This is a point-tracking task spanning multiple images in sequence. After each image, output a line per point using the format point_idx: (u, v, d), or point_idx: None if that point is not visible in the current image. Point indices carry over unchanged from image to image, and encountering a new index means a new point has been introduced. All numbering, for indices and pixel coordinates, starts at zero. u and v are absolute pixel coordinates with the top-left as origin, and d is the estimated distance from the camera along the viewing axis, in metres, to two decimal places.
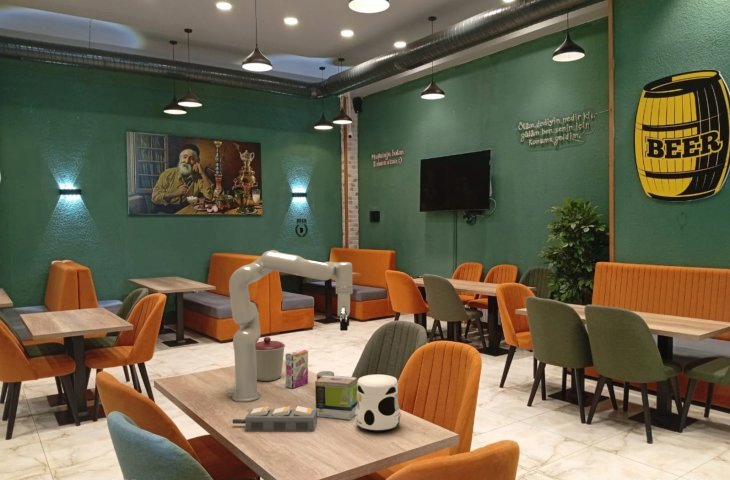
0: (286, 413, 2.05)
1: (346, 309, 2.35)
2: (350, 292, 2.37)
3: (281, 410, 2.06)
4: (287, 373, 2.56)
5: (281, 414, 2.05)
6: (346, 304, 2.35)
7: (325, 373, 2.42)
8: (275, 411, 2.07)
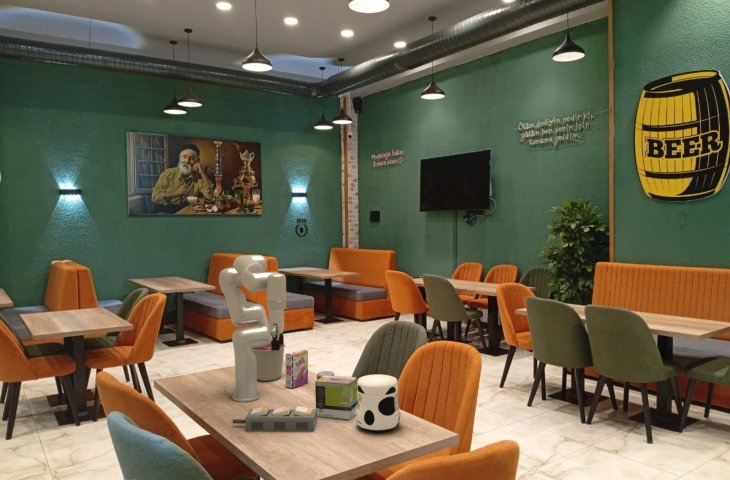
0: (286, 413, 2.05)
1: (278, 326, 2.10)
2: (283, 307, 2.13)
3: (281, 410, 2.06)
4: (287, 373, 2.56)
5: (281, 414, 2.05)
6: (278, 321, 2.10)
7: (325, 373, 2.42)
8: (275, 411, 2.07)
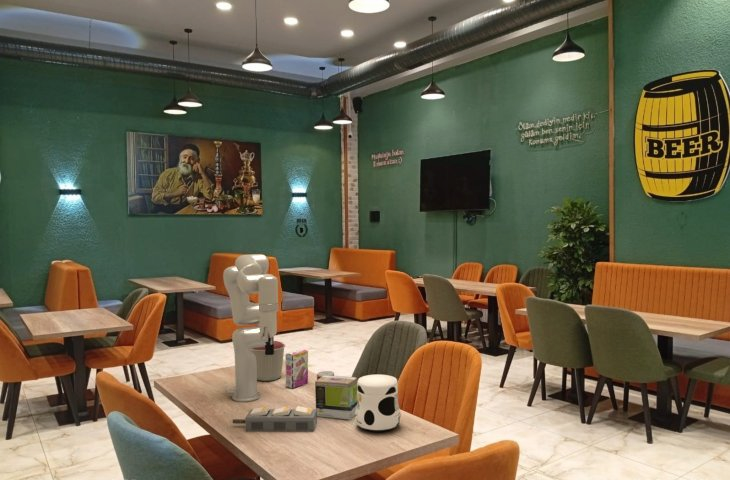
0: (286, 413, 2.05)
1: (269, 336, 2.06)
2: (274, 310, 2.08)
3: (281, 410, 2.06)
4: (287, 373, 2.56)
5: (281, 414, 2.05)
6: (269, 324, 2.05)
7: (325, 373, 2.42)
8: (275, 411, 2.07)
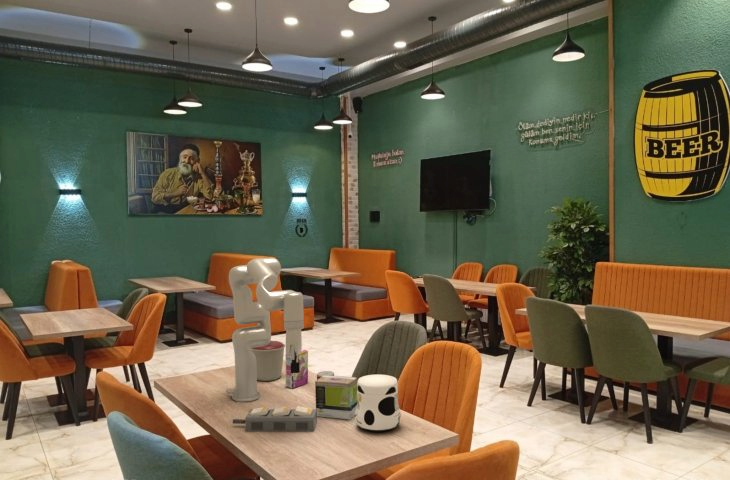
0: (286, 413, 2.05)
1: (296, 353, 2.02)
2: (300, 327, 2.04)
3: (281, 410, 2.06)
4: (287, 373, 2.56)
5: (281, 414, 2.05)
6: (295, 342, 2.01)
7: (325, 373, 2.42)
8: (275, 411, 2.07)
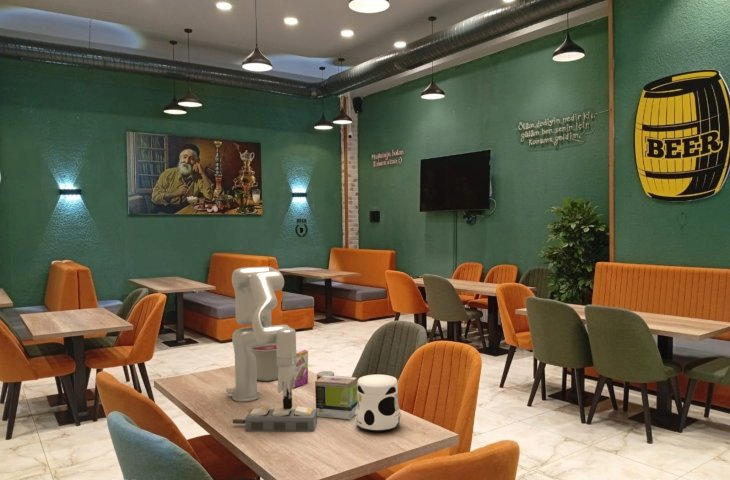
0: (286, 413, 2.05)
1: (288, 390, 2.02)
2: (293, 364, 2.04)
3: (281, 410, 2.06)
4: None
5: (281, 414, 2.05)
6: (287, 379, 2.02)
7: (325, 373, 2.42)
8: (275, 411, 2.07)
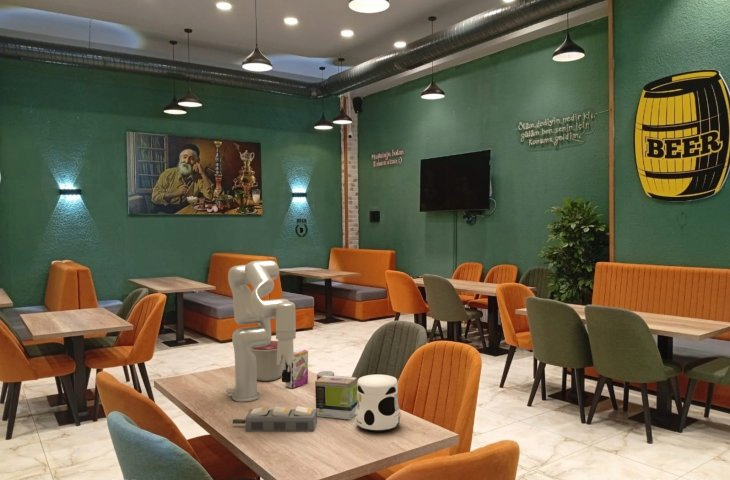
0: (286, 415, 2.05)
1: (287, 364, 2.02)
2: (292, 337, 2.04)
3: (282, 410, 2.06)
4: None
5: (281, 414, 2.05)
6: (287, 352, 2.02)
7: (325, 373, 2.42)
8: (275, 409, 2.07)
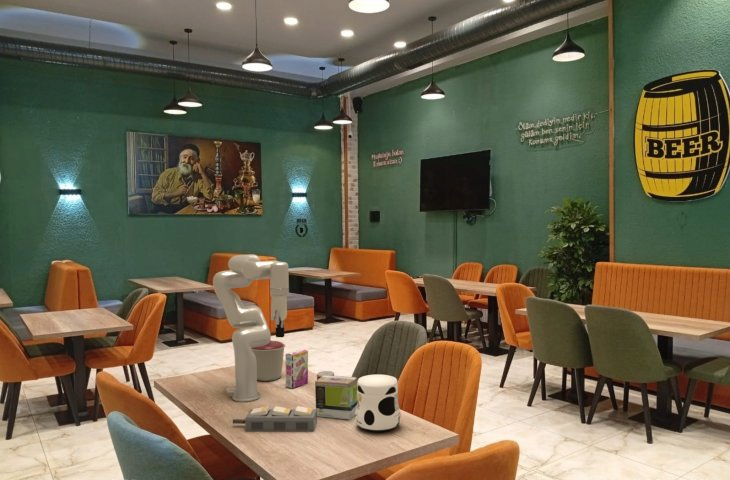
0: (286, 415, 2.05)
1: (280, 319, 2.16)
2: (285, 295, 2.18)
3: (282, 410, 2.06)
4: (287, 373, 2.56)
5: (281, 414, 2.05)
6: (280, 308, 2.16)
7: (325, 373, 2.42)
8: (276, 409, 2.07)
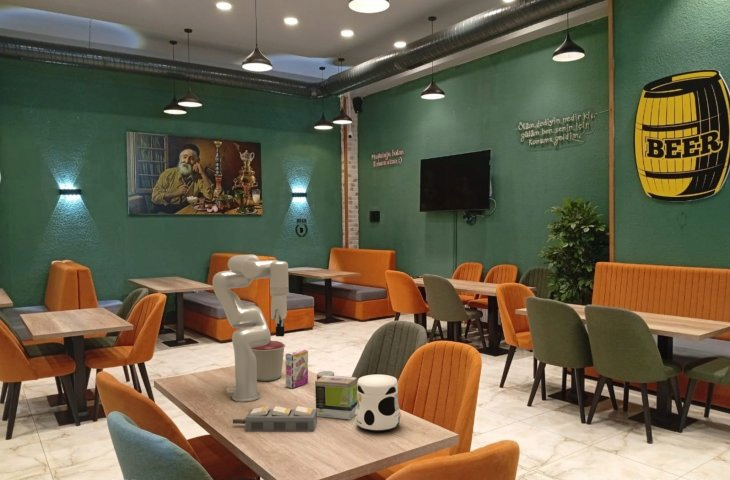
0: (286, 415, 2.05)
1: (280, 318, 2.16)
2: (285, 294, 2.18)
3: (282, 410, 2.06)
4: (287, 373, 2.56)
5: (281, 414, 2.05)
6: (280, 307, 2.16)
7: (325, 373, 2.42)
8: (276, 409, 2.07)
